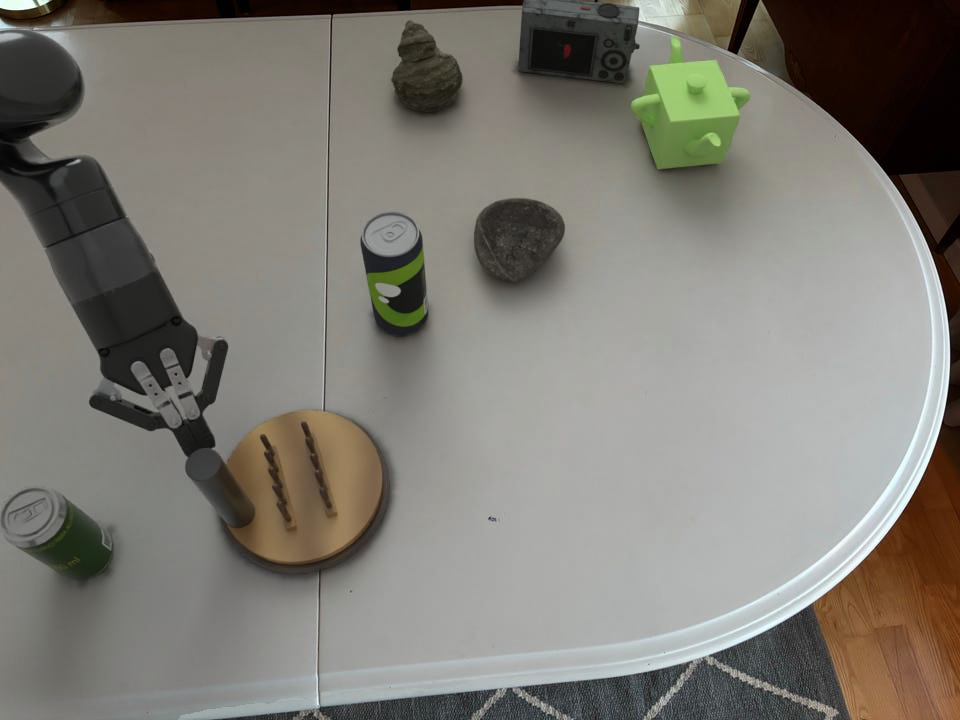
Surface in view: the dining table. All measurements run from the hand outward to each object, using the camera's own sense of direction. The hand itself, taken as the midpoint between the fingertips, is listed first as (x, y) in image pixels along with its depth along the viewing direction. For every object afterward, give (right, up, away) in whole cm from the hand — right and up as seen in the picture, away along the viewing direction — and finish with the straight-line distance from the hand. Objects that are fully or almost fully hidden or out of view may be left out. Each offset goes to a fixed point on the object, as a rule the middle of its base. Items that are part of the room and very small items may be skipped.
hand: (205, 455), depth 72 cm
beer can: (-13, -10, +5) cm, 17 cm away
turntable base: (+7, -5, +8) cm, 12 cm away
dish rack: (+7, -4, +7) cm, 11 cm away
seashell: (+18, +45, +37) cm, 61 cm away
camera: (+39, +50, +41) cm, 76 cm away
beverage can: (+16, +14, +19) cm, 29 cm away
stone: (+30, +22, +24) cm, 44 cm away
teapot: (+52, +38, +34) cm, 72 cm away
